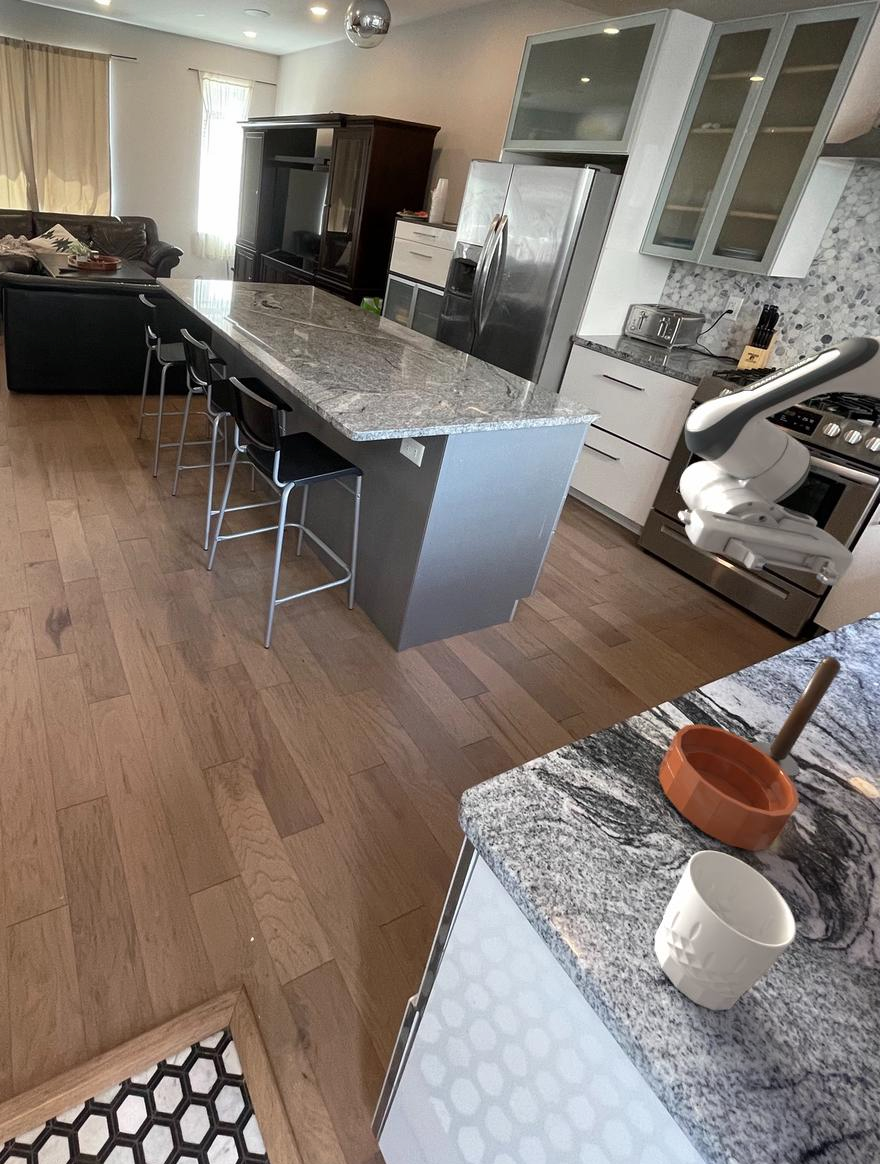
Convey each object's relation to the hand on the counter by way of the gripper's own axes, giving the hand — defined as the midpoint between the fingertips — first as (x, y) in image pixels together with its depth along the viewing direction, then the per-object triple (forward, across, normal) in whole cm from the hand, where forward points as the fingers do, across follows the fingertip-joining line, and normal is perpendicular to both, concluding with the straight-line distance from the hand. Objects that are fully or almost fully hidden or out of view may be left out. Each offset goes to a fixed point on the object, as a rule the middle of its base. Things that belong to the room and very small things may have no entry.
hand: (795, 572), depth 82 cm
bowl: (+20, -10, +22) cm, 31 cm away
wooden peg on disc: (+12, 0, +22) cm, 25 cm away
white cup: (+40, -20, +22) cm, 50 cm away
